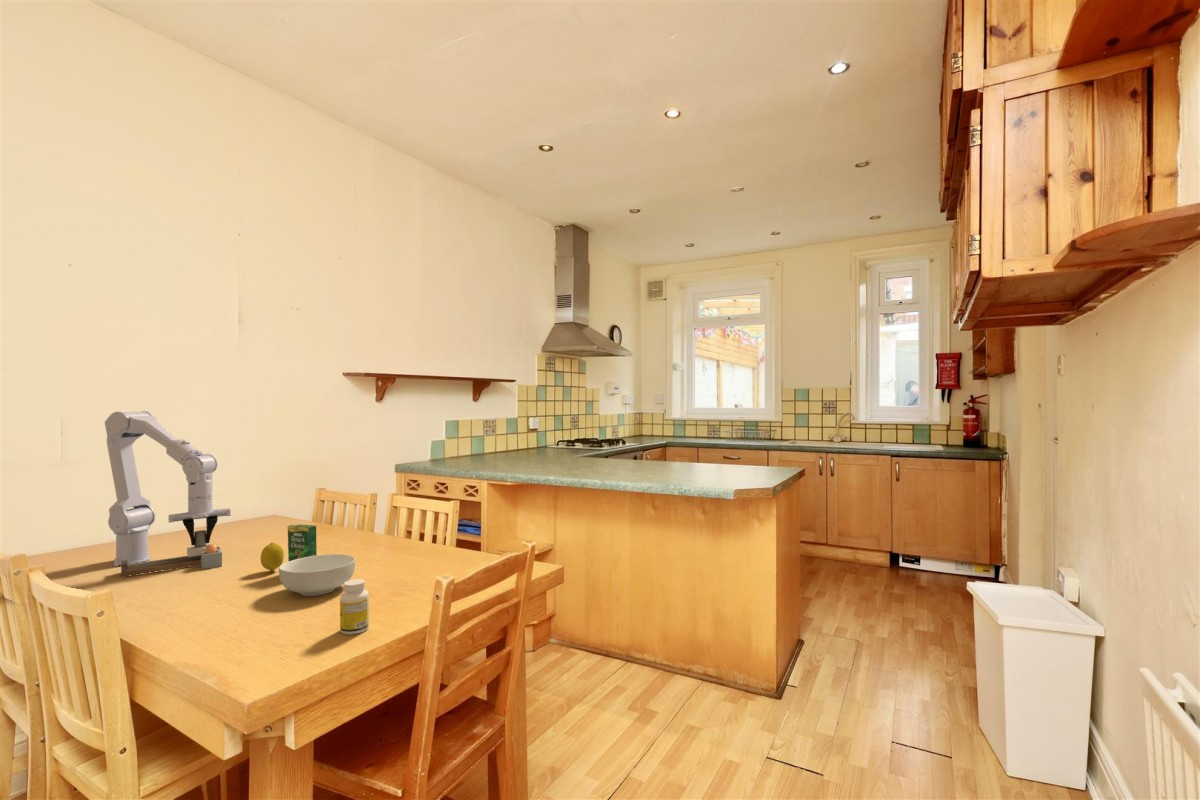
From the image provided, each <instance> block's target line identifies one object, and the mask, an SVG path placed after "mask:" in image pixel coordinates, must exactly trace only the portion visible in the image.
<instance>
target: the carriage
mask: <svg viewBox="0 0 1200 800" xmlns="http://www.w3.org/2000/svg"><path fill="white" fill-rule="evenodd" d="M206 531H207V529H202V530H196V531H195V530H194V540H195V545H190V546H189V545H188V546H186V556H188V557H192V556H199V555H201V552H203V551H206V545H209V544H213V543H212V542H209V543H207V544H206Z"/></svg>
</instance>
